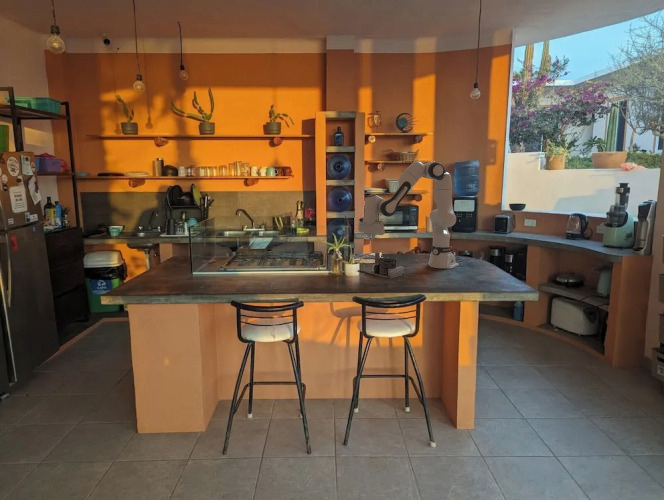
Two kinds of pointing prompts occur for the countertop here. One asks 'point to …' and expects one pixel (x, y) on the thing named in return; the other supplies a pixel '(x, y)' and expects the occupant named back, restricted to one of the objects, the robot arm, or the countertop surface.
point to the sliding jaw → (376, 264)
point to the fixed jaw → (389, 272)
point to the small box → (386, 265)
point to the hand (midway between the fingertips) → (371, 240)
